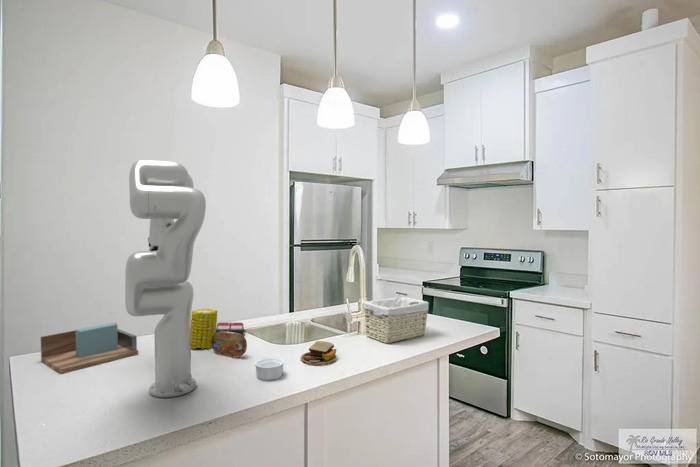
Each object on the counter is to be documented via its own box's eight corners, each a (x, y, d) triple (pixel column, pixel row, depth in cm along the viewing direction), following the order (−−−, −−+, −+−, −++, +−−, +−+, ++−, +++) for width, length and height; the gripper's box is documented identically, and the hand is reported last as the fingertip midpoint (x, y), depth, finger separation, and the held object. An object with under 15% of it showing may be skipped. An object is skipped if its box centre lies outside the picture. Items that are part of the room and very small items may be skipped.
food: (184, 351, 159) (209, 346, 166) (200, 350, 151) (225, 345, 159) (181, 310, 161) (205, 308, 168) (197, 308, 153) (221, 305, 161)
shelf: (138, 354, 150) (137, 330, 150) (60, 374, 131) (60, 347, 131) (115, 344, 161) (115, 322, 161) (41, 361, 142) (40, 336, 142)
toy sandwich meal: (293, 362, 144) (293, 348, 144) (316, 351, 156) (316, 338, 156) (323, 369, 138) (323, 355, 138) (344, 357, 149) (344, 344, 149)
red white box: (243, 328, 174) (205, 328, 170) (243, 338, 174) (205, 339, 170) (243, 321, 184) (207, 321, 181) (243, 331, 185) (207, 331, 181)
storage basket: (403, 327, 189) (403, 295, 188) (430, 336, 176) (430, 301, 175) (361, 336, 175) (361, 301, 174) (387, 346, 162) (388, 308, 161)
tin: (210, 353, 152) (210, 330, 152) (217, 350, 155) (217, 328, 155) (242, 360, 145) (242, 336, 145) (248, 357, 148) (248, 333, 148)
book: (117, 349, 151) (117, 324, 151) (80, 357, 142) (79, 331, 141) (112, 347, 154) (112, 322, 153) (75, 355, 144) (75, 329, 144)
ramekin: (253, 372, 134) (253, 359, 134) (280, 369, 137) (280, 356, 137) (257, 383, 126) (257, 369, 125) (286, 379, 129) (286, 365, 129)
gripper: (185, 214, 143) (185, 264, 144) (159, 214, 154) (159, 260, 154) (163, 214, 137) (164, 266, 138) (138, 213, 148) (139, 262, 148)
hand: (162, 263), depth 146 cm, fingers open, 9 cm apart
